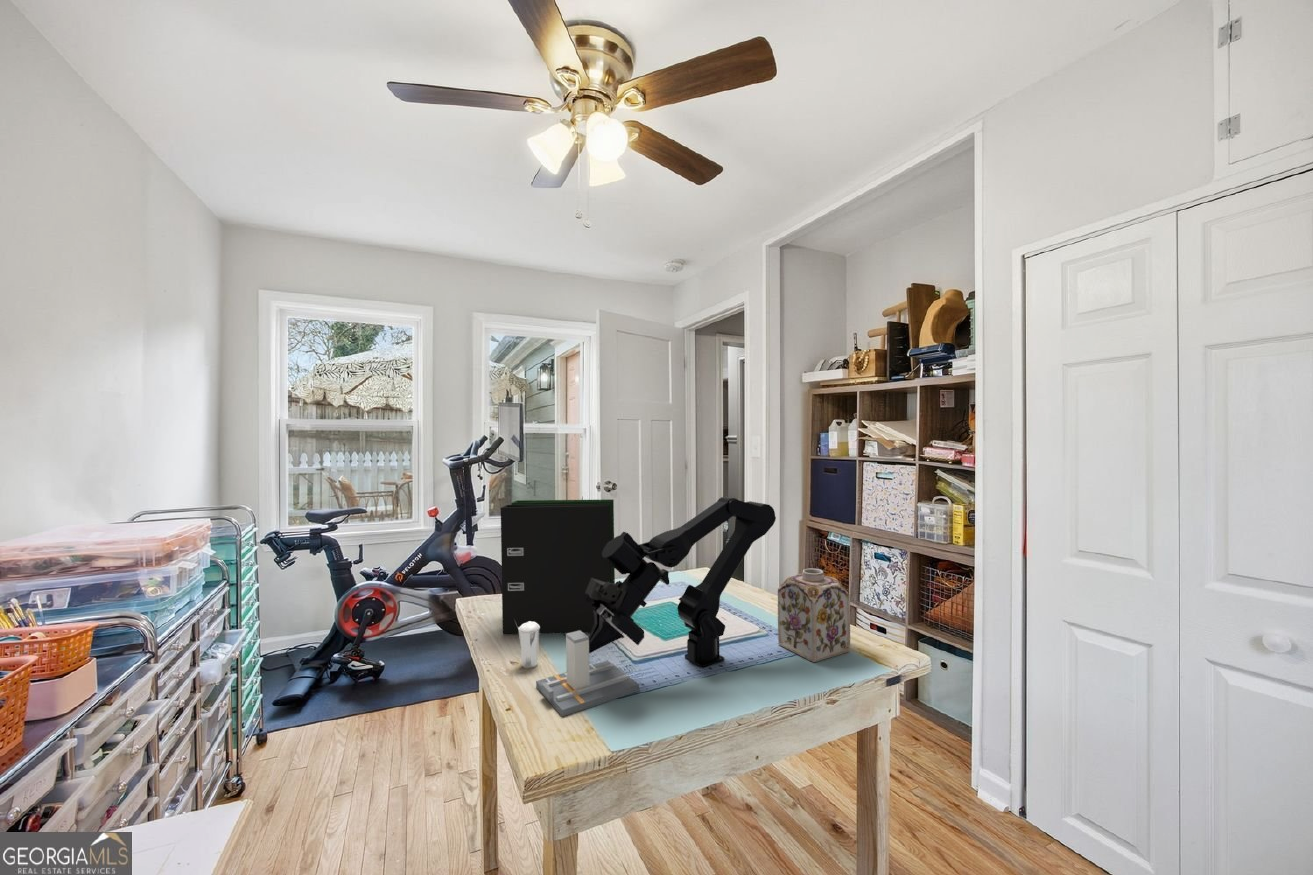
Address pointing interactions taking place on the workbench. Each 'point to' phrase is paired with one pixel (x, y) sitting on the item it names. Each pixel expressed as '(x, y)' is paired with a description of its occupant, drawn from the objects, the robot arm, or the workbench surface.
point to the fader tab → (577, 660)
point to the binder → (553, 562)
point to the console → (587, 688)
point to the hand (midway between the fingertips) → (585, 652)
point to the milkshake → (529, 643)
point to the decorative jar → (813, 615)
